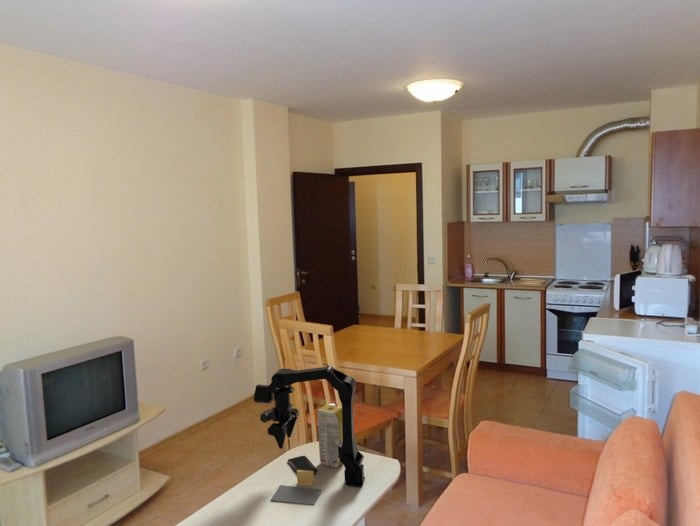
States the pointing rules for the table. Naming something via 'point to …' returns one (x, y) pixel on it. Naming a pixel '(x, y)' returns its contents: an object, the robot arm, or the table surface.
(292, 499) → the charcoal mat
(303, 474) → the ochre block
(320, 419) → the juice carton
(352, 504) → the table surface
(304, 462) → the phone
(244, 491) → the table surface
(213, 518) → the table surface
